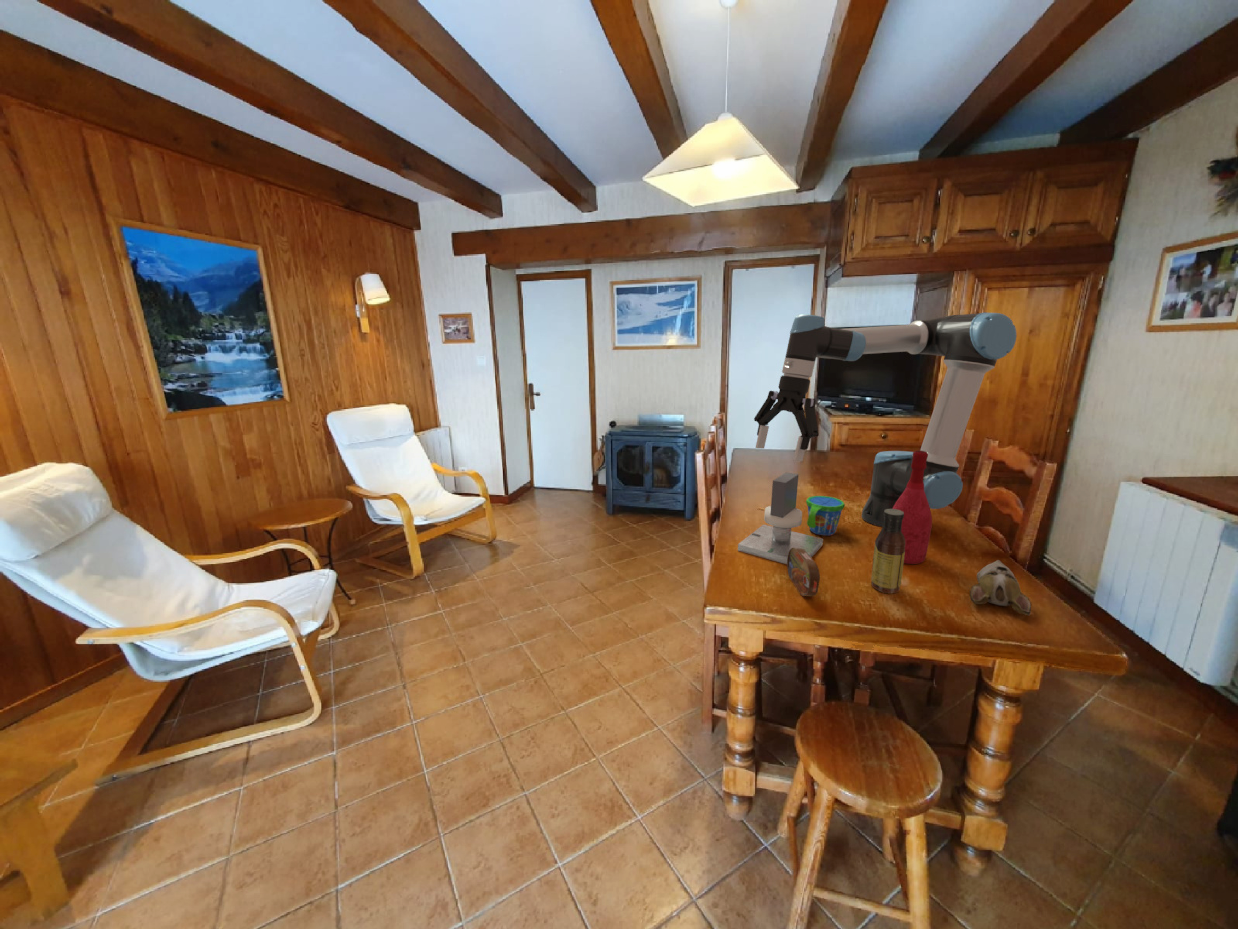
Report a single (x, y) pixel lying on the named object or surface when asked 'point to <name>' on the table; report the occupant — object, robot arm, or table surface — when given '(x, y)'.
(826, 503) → the snack cup
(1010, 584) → the ceramic sculpture
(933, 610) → the table surface
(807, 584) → the tin
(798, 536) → the base
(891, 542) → the sauce bottle
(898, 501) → the wine bottle
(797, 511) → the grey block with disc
